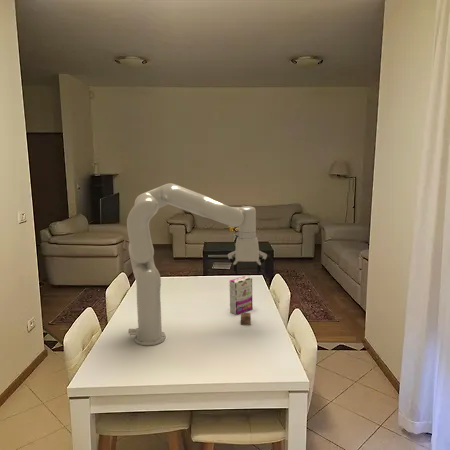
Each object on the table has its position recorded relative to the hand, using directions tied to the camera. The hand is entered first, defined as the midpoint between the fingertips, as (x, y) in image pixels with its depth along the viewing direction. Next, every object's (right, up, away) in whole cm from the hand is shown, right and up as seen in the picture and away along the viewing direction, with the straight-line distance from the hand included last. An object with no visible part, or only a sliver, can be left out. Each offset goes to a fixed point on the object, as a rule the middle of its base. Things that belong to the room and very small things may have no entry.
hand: (247, 272), depth 178 cm
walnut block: (0, -24, +6) cm, 24 cm away
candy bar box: (-2, -21, +20) cm, 29 cm away
